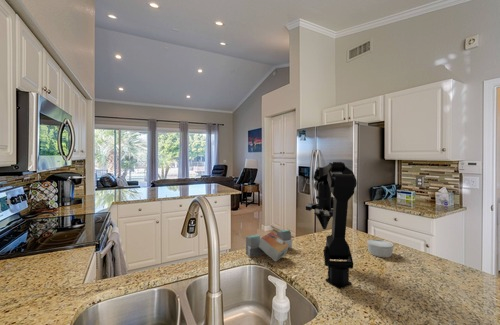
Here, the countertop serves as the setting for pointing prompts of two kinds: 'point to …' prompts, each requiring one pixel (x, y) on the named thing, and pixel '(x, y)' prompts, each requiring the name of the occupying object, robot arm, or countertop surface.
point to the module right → (284, 234)
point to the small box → (273, 246)
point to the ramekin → (380, 247)
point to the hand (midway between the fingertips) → (324, 229)
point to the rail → (258, 251)
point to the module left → (252, 241)
